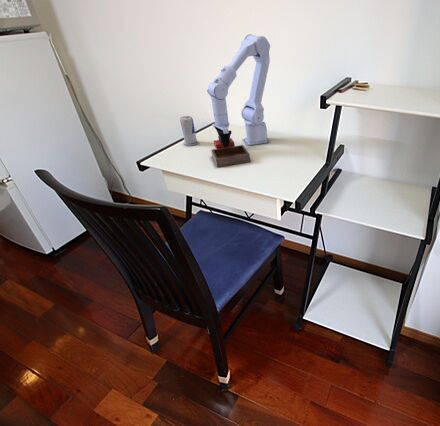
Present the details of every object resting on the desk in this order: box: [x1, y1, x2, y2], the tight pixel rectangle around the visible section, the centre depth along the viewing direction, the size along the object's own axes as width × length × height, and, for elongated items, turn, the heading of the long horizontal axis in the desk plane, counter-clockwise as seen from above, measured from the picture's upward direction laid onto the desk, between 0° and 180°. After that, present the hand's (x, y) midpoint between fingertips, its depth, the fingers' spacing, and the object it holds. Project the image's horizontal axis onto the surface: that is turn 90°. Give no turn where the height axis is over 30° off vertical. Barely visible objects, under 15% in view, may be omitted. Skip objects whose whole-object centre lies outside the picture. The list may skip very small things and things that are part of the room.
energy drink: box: [179, 115, 198, 147], centre depth 137 cm, size 5×5×12 cm
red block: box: [213, 135, 236, 149], centre depth 134 cm, size 8×5×5 cm
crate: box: [211, 144, 251, 168], centre depth 127 cm, size 14×10×4 cm
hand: (224, 144), depth 134 cm, fingers closed on red block, 5 cm apart
